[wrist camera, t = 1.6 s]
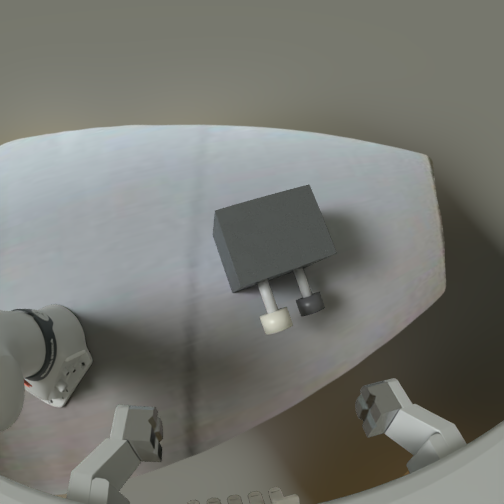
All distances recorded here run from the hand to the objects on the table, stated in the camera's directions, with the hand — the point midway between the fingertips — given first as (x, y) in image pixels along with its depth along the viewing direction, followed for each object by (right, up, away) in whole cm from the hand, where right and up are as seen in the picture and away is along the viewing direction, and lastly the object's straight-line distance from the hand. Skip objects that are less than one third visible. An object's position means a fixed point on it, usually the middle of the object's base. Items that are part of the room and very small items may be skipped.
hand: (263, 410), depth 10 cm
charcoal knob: (+9, -1, +46) cm, 47 cm away
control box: (+1, +6, +50) cm, 50 cm away
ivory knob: (+2, -2, +39) cm, 39 cm away
